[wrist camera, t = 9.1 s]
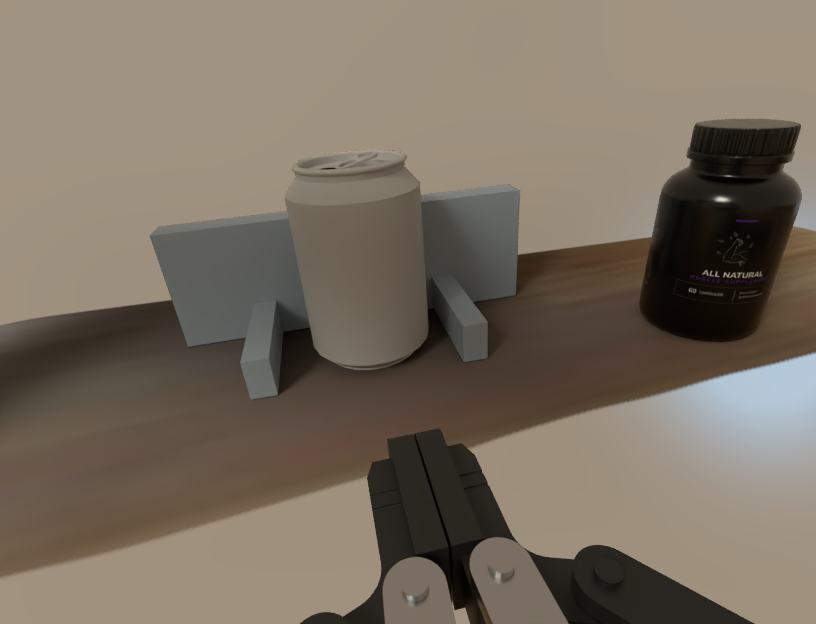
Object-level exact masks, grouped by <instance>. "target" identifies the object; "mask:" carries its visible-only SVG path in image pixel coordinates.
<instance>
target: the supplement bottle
mask: <svg viewBox="0 0 816 624" xmlns="http://www.w3.org/2000/svg"><path fill="white" fill-rule="evenodd" d="M800 128H801V125H800V124H799V123H796V122H791V121H783V120H769V119H726V120H712V121H704V122H699V123H696V124H695V126H694V130H693V134H692V139H691V144H690V147H689V148H688V150H687V158H689V159H691V161H690V165H689V167H687V168H685V169H683V170H681V171H679V172H677V173H675V174H674V175H672V176H671V177H670V178H669V179H668V180H667V181H666V183H665V184H664V186H663V188H662V191H661V195H660V199H659V204H658V209H657V214H656V219H655V224H654V229H653V234H652V239H651V244H650V249H649V254H648V259H647V264H646V269H645V274H644V279H643V284H642V290H641V295H640V302H639V305H640V309H641V312H642V313H643V315H644V316H645V317H646V318H647V319H648V320H649V321H650V322H651V323H652V324H654V325H656V326H657V327H659V328H661V329H663V330H665V331H668V332H670V333H673V334H676V335H680V336H683V337H687V338H692V339H698V340H705V341H729V340H735V339H739V338H742V337H745V336H747V335H748V334H750V333H751V332H753V331H754V330H755V329H756V328H757V326H758V324H759V322H760V319H761V316H762V314H763V311H764V308H765V306H766V303H767V300H768V297H769V294H770V291H771V288H772V285H773V282H774V279H775V277H776V274H777V271H778V268H779V265H780V262H781V259H782V256H783V253H784V250H785V248H786V245H787V242H788V239H789V236H790V233H791V230H792V227H793V224H794V221H795V219H796V215H797V213H798V210H799V206H800V203H801V199H802V193H801V189H800V187H799V185H798V184H797V182H796V181H795V180H794V179H793V178H792V177H790V176H789V175H787V174H786V173H785V172H783V168H784V165H785V163H788V162H790V161H792V159H793V156H794V148H795V145H796V142H797V139H798V135H799V132H800Z"/></svg>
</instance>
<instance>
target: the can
mask: <svg viewBox="0 0 816 624" xmlns="http://www.w3.org/2000/svg"><path fill="white" fill-rule="evenodd" d="M406 158H407V156H406V155H405V154H403V153H402V152H398V151H393V150H356V151H345V152H337V153H330V154H323V155H318V156H313V157H309V158H306V159H302V160H299V161H297V162H295V163H294V164H293V165H292V167H291V170H292V171H293V172H294V173H295V175H296V177H295V179H294V180H293V182H292V184H291V185H290V187H289V188H288V190H287V191H286V193H285V202H286V207H287V212H288V217H289V222H290V228H291V233H292V238H293V243H294V248H295V253H296V258H297V263H298V268H299V273H300V278H301V283H302V288H303V293H304V298H305V303H306V309H307V314H308V319H309V324H310V329H311V334H312V339H313V344H314V348H315V349H316V350H317V352H318V353H319V354H320V356H322V357H324V358H326V359H328V360H330V361H332V362H334V363H336V364H338V365H340V366H342V367H344V368H349V369H353V370H376V369H381V368H387V367H389V366H392V365H395V364H397V363H400V362H402V361H403V360H405V359H406V358H408V357H409V356H410V355H411V354H412V353H413V352H414V351H415V350H416V349H418V348H419V347H420V346H421V345H422V344H423V342H424V341H425V340H426V338H427V335H428V329H429V328H428V311H427V294H426V278H425V261H424V244H423V228H422V211H421V194H420V182H419V181H418V180H417V179H416V178H415V177H414V176H413V175H412V174H411V173H410V172H409V171H408V170H407V169H406V168H405V166H404V161H405V160H406Z"/></svg>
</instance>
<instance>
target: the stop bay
mask: <svg viewBox="0 0 816 624" xmlns="http://www.w3.org/2000/svg"><path fill="white" fill-rule="evenodd" d="M519 203H520V190H519V189H517V188H515V187H513V186H511V185H509V184H507V185H499V186H490V187H482V188H474V189H466V190H458V191H449V192H441V193H433V194H425V195H421V211H422V228H423V244H424V261H425V278H426V294H427V309H432V308H434V310H435V312H436V314H437V315H438V317H439V319H440V321H441V323H442V324H443V326H444V328H445V330H446V332H447V333H448V335H449V337H450V339H451V340H452V342H453V344H454V346H455V348H456V349H457V351H458V353H459V355H460V357H461V358H462V360H463V362H468V361H474V360H480V359H486V358H488V322H487V320H486V319H485V318H484V316H483V315H482V314H481V312H480V311H479V310H478V308H477V307H476V306H475V304H474V303H473V302H476V301H482V300H489V299H495V298H501V297H508V296H514V295H516V278H517V253H518V228H519ZM150 238H151V241H152V244H153V247H154V250H155V253H156V256H157V258H158V261H159V264H160V267H161V270H162V273H163V276H164V279H165V281H166V284H167V287H168V290H169V293H170V296H171V299H172V302H173V305H174V307H175V310H176V313H177V316H178V319H179V322H180V325H181V328H182V331H183V333H184V336H185V339H186V342H187V345H188V347H190V346H196V345H203V344H209V343H215V342H222V341H228V340H234V339H241V338H246V340H245V344H244V349H243V353H242V357H241V362H240V364H241V367H242V371H243V374H244V378H245V381H246V385H247V388H248V392H249V395H250V398H251V400H253V399H258V398H264V397H270V396H275V395H278V389H279V378H280V366H281V355H282V344H283V332H285V331H292V330H298V329H304V328H310V324H309V319H308V314H307V309H306V303H305V298H304V293H303V288H302V283H301V278H300V273H299V268H298V263H297V258H296V253H295V248H294V243H293V238H292V233H291V228H290V222H289V217H288V212H287V211H284V212H276V213H268V214H259V215H251V216H243V217H234V218H227V219H218V220H210V221H202V222H193V223H185V224H177V225H169V226H160V227H158V228H157V229H156V230H155V231H154V232H153V233H152V234H151V235H150Z"/></svg>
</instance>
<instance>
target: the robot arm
mask: <svg viewBox="0 0 816 624" xmlns="http://www.w3.org/2000/svg"><path fill="white" fill-rule="evenodd" d="M387 441H388V450H389V458H390V459H385V460H381V461H376V462H372V465H371V468H370V471H369V474H368V477H367V480H368V486H369V492H370V498H371V504H372V511H373V516H374V523H375V529H376V535H377V541H378V547H379V553H380V560H381V568H382V569H381V577H380V581H379V583H378V586H377V588H376V589H375V591H374V593H373V594H372V595H371V597H370V598H369V599H368V600H367V601H366V602H365V603H363V604H362V605H360V606H359V607H357V608H356V609H354V610H353V611H351V612H350V613H348V614H347V615H345V616H343V617H342V616H340V615H338V614H335V613H330V612H323V613H318V614H315V615H312V616H311V617H309V618H307V619H305V620H304V621H303V622H301V623H300V624H456V623H455V618H454V613H453V608H452V602H453V605H454V609H455V610H457V609H461V608H466V611H467V615H468V618H469V621H470V624H754V623H752V622H750V621H748V620H746V619H744V618H743V617H740V616H739V615H737V614H735V613H733V612H732V611H730V610H728V609H726V608H724V607H722V606H720V605H718V604H717V603H715V602H713V601H711V600H709V599H707V598H706V597H704V596H702V595H700V594H698V593H696V592H694V591H693V590H690V589H689V588H687V587H685V586H683V585H681V584H680V583H678V582H676V581H674V580H672V579H670V578H668V577H667V576H665V575H663V574H661V573H659V572H657V571H655V570H653V569H651V568H650V567H648V566H646V565H644V564H642V563H641V562H639V561H637V560H635V559H633V558H631V557H629V556H628V555H626V554H624V553H622V552H620V551H618V550H616V549H614V548H611V547H608V546H603V545H593V546H588V547H586V548H584V549H582V550H581V551H580V552H578V554H577V555H576V557H575V559H574V560H573V559H561V558H550V557H543V556H539V555H536V554H534V553H532V552H530V551H528V550H526V549H525V548H523V547H522V546H521V545H520V544H519V543H518V542H517V541H516V540H515V539H514V537H513V536H512V534H511V533H510V530H509V528H508V526H507V524H506V522H505V519H504V517H503V515H502V513H501V511H500V509H499V507H498V504H497V502H496V500H495V498H494V496H493V493H492V491H491V489H490V487H489V486H488V484H487V481H486V478H485V476H484V474H483V473H482V470H481V467H480V465H479V463H478V462H477V459H476V457H475V455H474V454H473V453H472V452H471V451H470V450H468V449H467V448H466V447H465V446H464V445H463V444H462V443H461V444H456V445H452V446H447V445H446V442H445V440H444V437H443V435H442V432H441V430H440V429H435V430H430V431H425V432H420V433H415V434H414V436H413V434H411V435H406V436H401V437H396V438H391V439H387Z"/></svg>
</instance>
